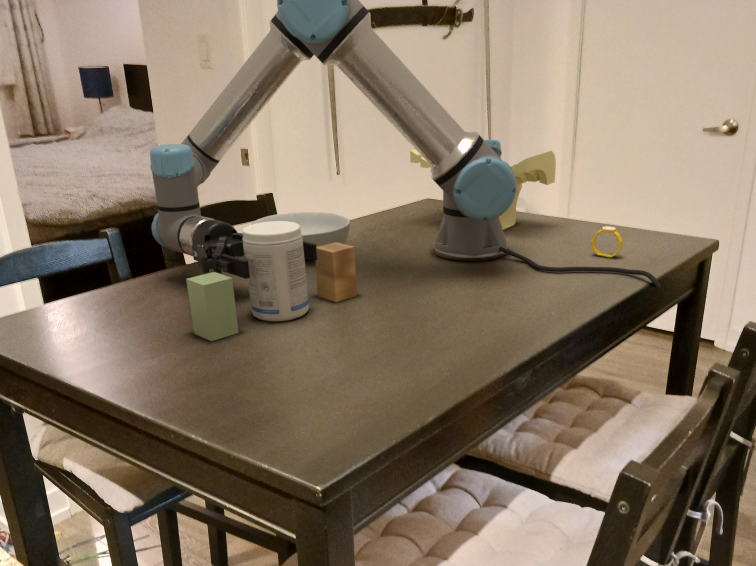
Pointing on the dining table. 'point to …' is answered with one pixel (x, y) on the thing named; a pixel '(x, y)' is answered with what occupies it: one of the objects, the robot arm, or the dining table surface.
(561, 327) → the dining table surface
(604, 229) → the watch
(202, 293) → the sage block
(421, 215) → the dining table surface
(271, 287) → the supplement tub
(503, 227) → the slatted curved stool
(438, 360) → the dining table surface
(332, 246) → the beech block
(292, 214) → the serving bowl
